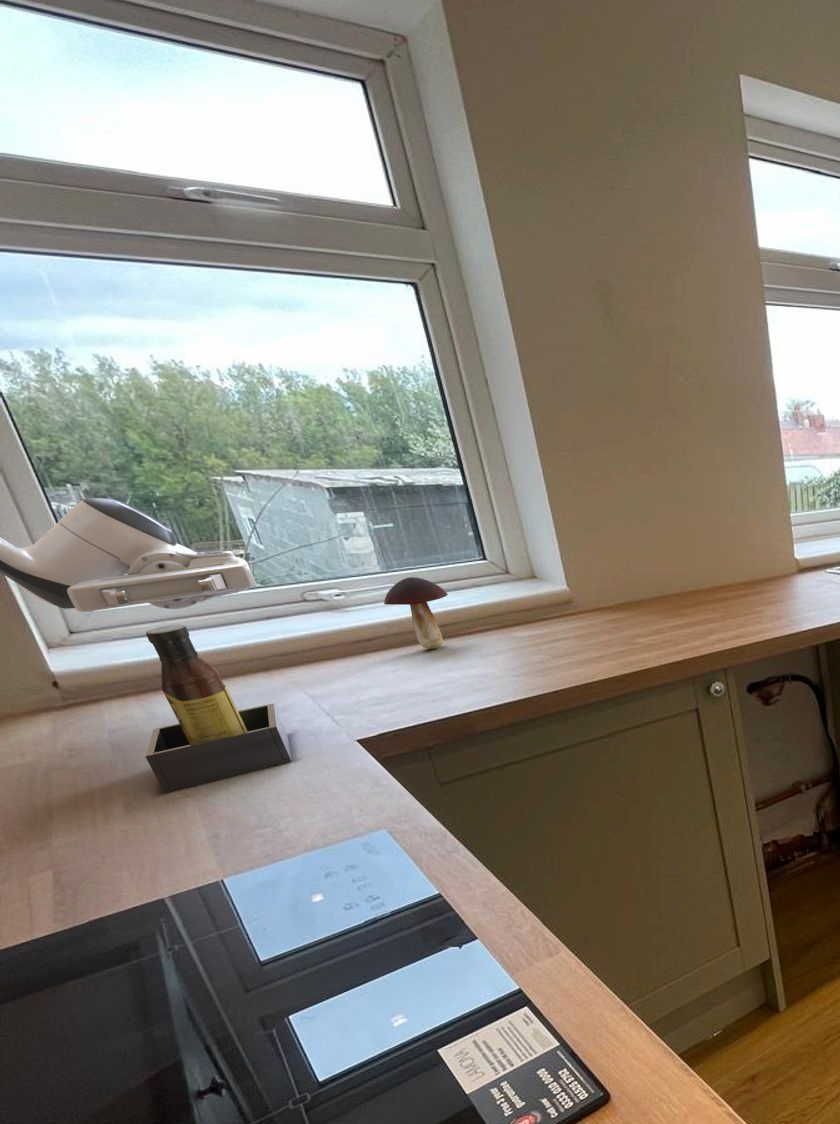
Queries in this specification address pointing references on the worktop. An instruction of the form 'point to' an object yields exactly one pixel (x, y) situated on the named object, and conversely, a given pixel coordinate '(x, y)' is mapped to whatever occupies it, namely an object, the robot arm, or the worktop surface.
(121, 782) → the worktop surface
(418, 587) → the decorative mushroom
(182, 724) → the sauce bottle
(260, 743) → the open rectangular box
